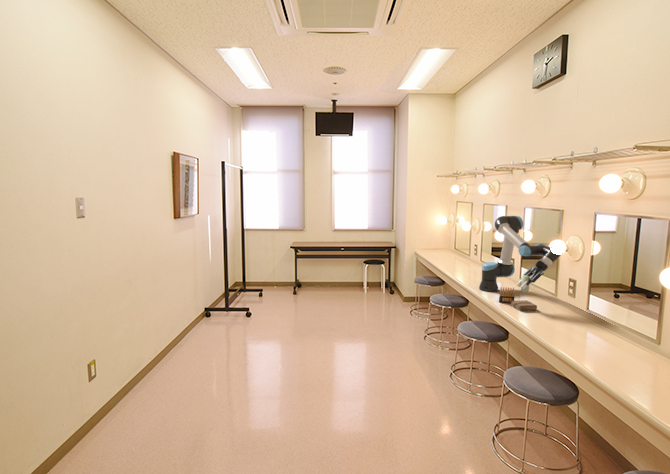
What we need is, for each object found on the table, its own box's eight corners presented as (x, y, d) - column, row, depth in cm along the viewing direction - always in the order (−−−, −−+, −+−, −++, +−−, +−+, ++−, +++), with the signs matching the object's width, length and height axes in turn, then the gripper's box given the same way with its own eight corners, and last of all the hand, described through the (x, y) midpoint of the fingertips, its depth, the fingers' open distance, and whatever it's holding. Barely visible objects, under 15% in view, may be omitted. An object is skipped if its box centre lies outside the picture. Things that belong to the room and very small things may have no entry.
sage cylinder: (519, 290, 260) (520, 275, 258) (526, 290, 260) (527, 275, 259) (523, 292, 255) (524, 277, 253) (530, 291, 255) (531, 276, 254)
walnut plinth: (510, 305, 265) (511, 300, 264) (526, 305, 266) (526, 300, 265) (520, 311, 253) (520, 305, 253) (536, 310, 254) (536, 305, 253)
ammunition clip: (513, 302, 273) (514, 287, 272) (514, 303, 271) (515, 287, 270) (498, 302, 275) (499, 286, 273) (499, 302, 273) (500, 287, 271)
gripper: (555, 270, 247) (531, 293, 248) (539, 264, 265) (516, 286, 266) (548, 262, 246) (524, 286, 247) (532, 258, 264) (509, 280, 265)
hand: (520, 286), depth 257 cm, fingers closed on sage cylinder, 5 cm apart
